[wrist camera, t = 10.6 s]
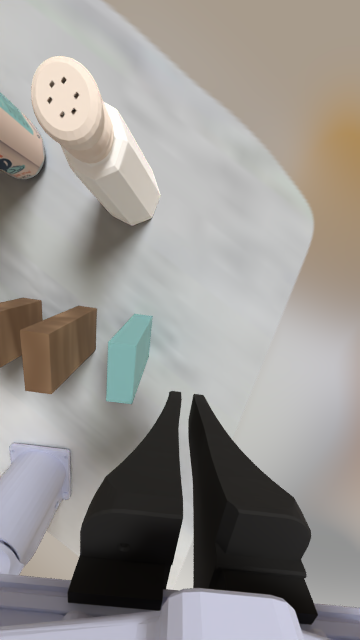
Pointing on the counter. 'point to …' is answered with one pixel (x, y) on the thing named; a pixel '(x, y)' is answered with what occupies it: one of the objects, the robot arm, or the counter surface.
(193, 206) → the counter surface
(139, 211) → the pepper shaker
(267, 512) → the robot arm
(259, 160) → the counter surface
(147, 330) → the teal domino
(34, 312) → the walnut domino
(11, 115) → the beer can
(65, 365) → the walnut domino
